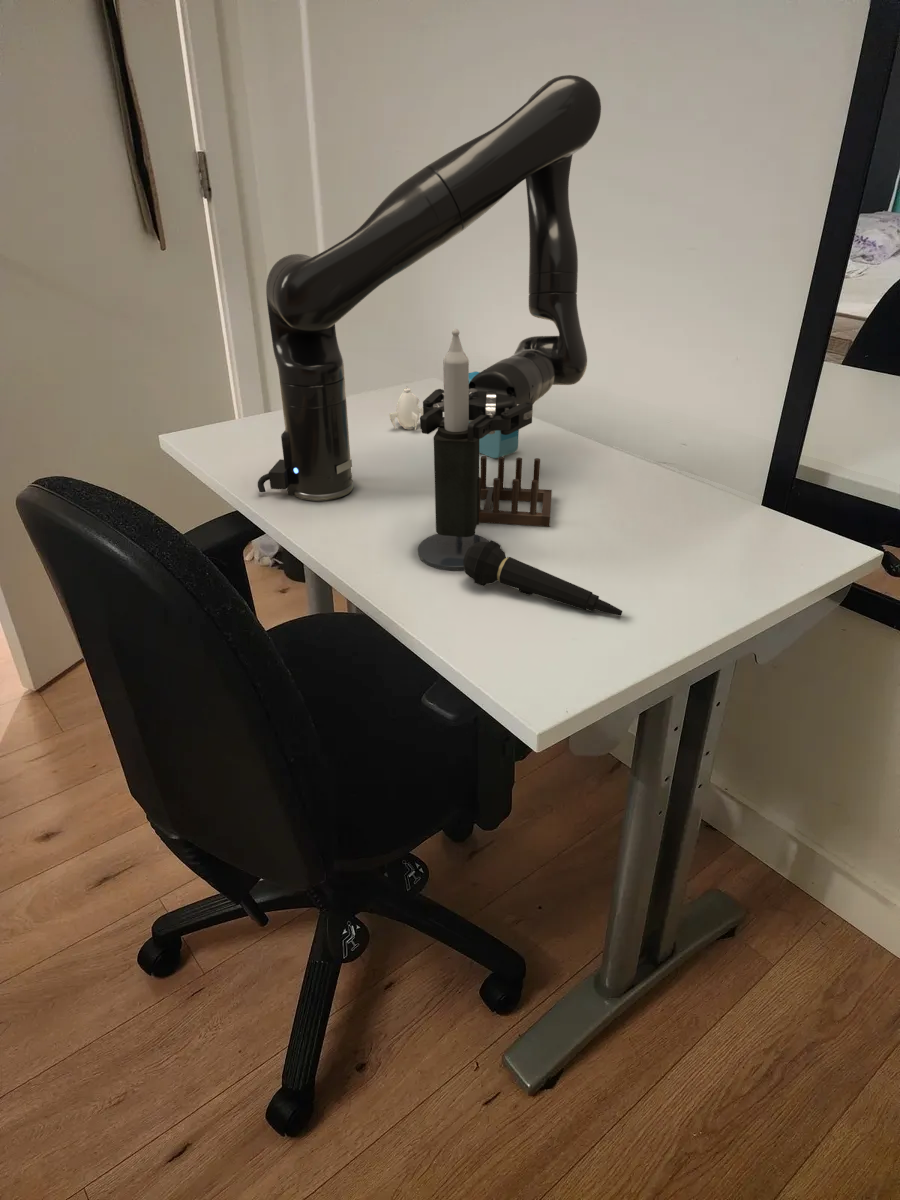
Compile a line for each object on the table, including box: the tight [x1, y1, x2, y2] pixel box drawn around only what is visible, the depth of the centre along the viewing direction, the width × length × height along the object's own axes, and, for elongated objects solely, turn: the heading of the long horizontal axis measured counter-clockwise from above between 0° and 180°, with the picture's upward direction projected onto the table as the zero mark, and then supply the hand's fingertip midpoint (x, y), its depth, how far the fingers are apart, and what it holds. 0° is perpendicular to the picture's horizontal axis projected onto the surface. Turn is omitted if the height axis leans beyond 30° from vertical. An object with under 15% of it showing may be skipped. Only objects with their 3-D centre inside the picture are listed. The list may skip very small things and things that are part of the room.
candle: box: [433, 328, 480, 537], centre depth 97 cm, size 5×5×25 cm
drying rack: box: [479, 455, 553, 528], centre depth 115 cm, size 14×9×6 cm
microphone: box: [463, 539, 623, 617], centre depth 94 cm, size 6×6×20 cm
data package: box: [469, 371, 520, 459], centre depth 135 cm, size 12×4×12 cm, turn 41°
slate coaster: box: [417, 533, 490, 572], centre depth 105 cm, size 10×10×1 cm
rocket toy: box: [388, 387, 423, 431], centre depth 146 cm, size 5×5×8 cm
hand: (447, 429), depth 94 cm, fingers closed on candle, 5 cm apart
